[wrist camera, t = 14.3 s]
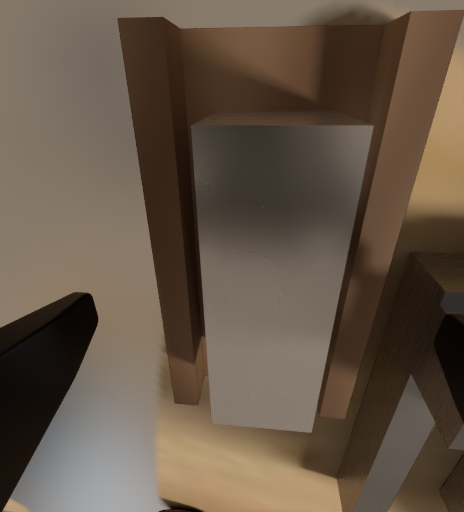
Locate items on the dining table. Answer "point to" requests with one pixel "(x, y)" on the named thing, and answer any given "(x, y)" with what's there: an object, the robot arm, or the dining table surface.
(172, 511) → the supplement bottle
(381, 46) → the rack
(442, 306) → the socket
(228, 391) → the bar
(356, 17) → the dining table surface
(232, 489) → the dining table surface
